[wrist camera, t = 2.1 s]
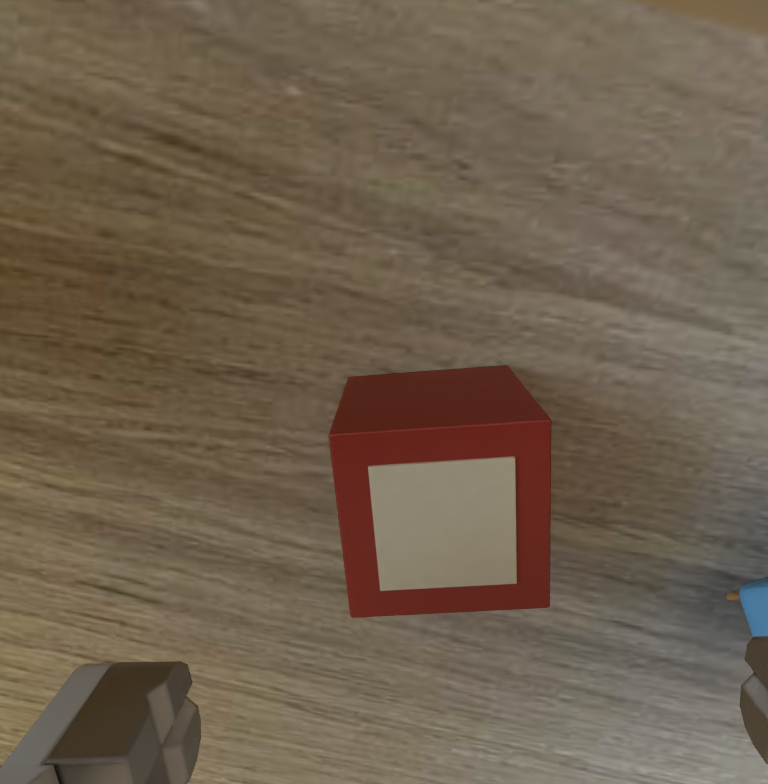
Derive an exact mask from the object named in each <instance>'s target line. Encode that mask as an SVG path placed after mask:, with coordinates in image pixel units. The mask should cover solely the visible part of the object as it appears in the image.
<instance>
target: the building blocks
mask: <svg viewBox="0 0 768 784" xmlns="http://www.w3.org/2000/svg"><path fill="white" fill-rule="evenodd" d="M726 599H727V600H728V601H737V600H741V603H742V606H743V609H744V612H745V615H746V618H747V621H748V624H749V626H750V629H751V632H752V635H753V637H758V636H768V577H765V578H762V579H759V580H756V581H754V582H751V583H748V584H746V585H743V586H742V587H741V588H740V589H737V591H732V592H731V593H726Z"/></svg>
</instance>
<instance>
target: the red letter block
mask: <svg viewBox="0 0 768 784" xmlns="http://www.w3.org/2000/svg"><path fill="white" fill-rule="evenodd" d="M329 443H330V451H331V460H332V468H333V476H334V485H335V493H336V501H337V510H338V518H339V526H340V535H341V543H342V551H343V560H344V568H345V576H346V585H347V593H348V601H349V609H350V616H351V617H352V618H356V617H375V616H395V615H414V614H434V613H453V612H473V611H492V610H512V609H531V608H548V607H549V606H550V530H551V419H550V418H549V416H548V415H547V414H546V413H545V411H544V410H543V409H542V408H541V407H540V405H539V404H538V403H537V402H536V400H535V399H534V398H533V397H532V395H531V394H530V393H529V392H528V391H527V389H526V388H525V387H524V386H523V384H522V383H521V382H520V381H519V379H518V378H517V377H516V376H515V375H514V373H513V372H512V371H511V370H510V368H509V367H508V366H506V365H505V366H491V367H477V368H464V369H450V370H436V371H423V372H409V373H395V374H382V375H368V376H354V377H348V380H347V383H346V386H345V389H344V392H343V395H342V398H341V401H340V404H339V407H338V410H337V413H336V416H335V419H334V422H333V424H332V427H331V430H330V433H329Z"/></svg>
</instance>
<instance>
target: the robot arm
mask: <svg viewBox="0 0 768 784" xmlns="http://www.w3.org/2000/svg"><path fill="white" fill-rule="evenodd" d="M745 661H746V662H747V663H748V665H749V666H750V667H751V668H752V670H753V671H754V673H753V674H752V675H751V676H750V677H749V678H748V679H747V680H746V681H745V682H744V683H743V684H742V686H741V696H740V709H741V713H742V717H743V721H744V725H745V728H746V730H747V732H748V734H749V737H750V739H751V741H752V743H753V745H754V746H755V748H756V749H757V751H758V752H759V754H760V755H761V757H762V758H763V760H764V761H765V763H767V764H768V636H758V637H753V638H752V639H751V641H750V642H749V643H748V645H747V649H746V656H745ZM192 683H193V682H192V679H191V675H190V671H189V668H188V664H185V663H183V662H120V663H116V664H84V665H83V666H81V667H79V668H77V669H76V670H75V671H74V672H73V673H72V674H71V676H70V677H69V678H68V680H67V681H66V682H65V683H64V685H63V686H62V687H61V689H60V690H59V691H58V693H57V694H56V695H55V697H54V698H53V699H52V701H51V702H50V703H49V705H48V706H47V707H46V709H45V710H44V711H43V713H42V714H41V715H40V716H39V718H38V719H37V720H36V722H35V723H34V724H33V726H32V727H31V728H30V730H29V731H28V732H27V734H26V735H25V736H24V738H23V739H22V740H21V742H20V743H19V744H18V746H17V747H16V748H15V749H14V751H13V752H12V753H11V755H10V756H9V757H8V759H7V760H6V761H5V763H4V764H3V765H2V766H1V767H0V784H187V783H188V782H189V780H190V778H191V775H192V772H193V769H194V767H195V764H196V761H197V757H198V751H199V745H200V740H201V719H200V715H199V710H198V706H197V705H196V704H195V703H193V702H192V701H191V700H190V699H189V698H188V697H187V694H188V691H189V689H190V687H191V685H192Z"/></svg>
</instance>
